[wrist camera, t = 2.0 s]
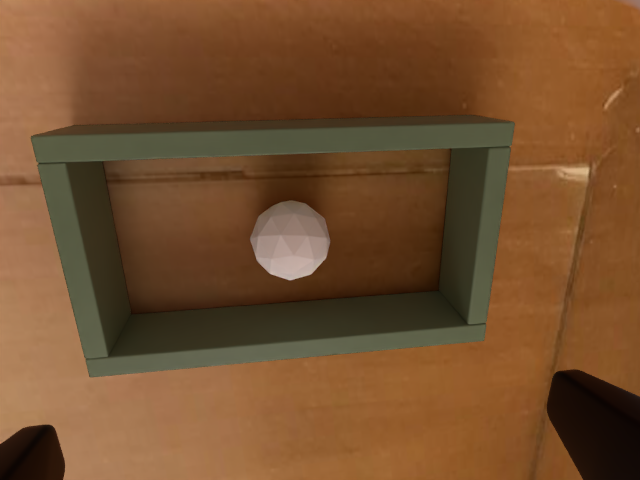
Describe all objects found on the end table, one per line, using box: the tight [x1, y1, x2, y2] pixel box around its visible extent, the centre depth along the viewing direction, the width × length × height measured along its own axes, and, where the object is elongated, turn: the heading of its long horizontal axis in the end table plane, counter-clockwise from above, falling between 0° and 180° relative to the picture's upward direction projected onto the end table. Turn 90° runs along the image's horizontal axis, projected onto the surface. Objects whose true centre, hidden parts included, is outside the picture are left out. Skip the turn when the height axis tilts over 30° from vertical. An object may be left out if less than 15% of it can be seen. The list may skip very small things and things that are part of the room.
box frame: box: [31, 115, 515, 377], centre depth 16 cm, size 15×8×3 cm, turn 91°
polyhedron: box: [250, 200, 330, 280], centre depth 16 cm, size 3×3×3 cm
